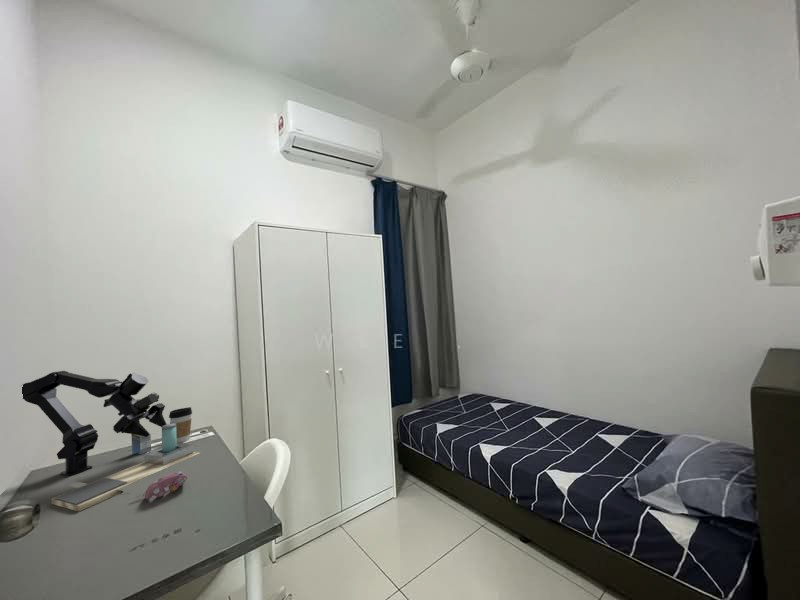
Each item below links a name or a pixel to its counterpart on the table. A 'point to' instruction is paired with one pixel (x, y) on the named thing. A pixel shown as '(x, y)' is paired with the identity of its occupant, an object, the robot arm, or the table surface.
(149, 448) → the label tape box
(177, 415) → the coffee cup
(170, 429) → the teal dowel
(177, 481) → the video game controller
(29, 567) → the table surface
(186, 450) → the square metal frame plate
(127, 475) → the birch board
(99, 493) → the dark gray rubber pad
